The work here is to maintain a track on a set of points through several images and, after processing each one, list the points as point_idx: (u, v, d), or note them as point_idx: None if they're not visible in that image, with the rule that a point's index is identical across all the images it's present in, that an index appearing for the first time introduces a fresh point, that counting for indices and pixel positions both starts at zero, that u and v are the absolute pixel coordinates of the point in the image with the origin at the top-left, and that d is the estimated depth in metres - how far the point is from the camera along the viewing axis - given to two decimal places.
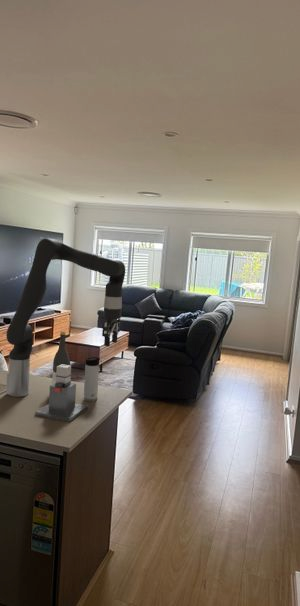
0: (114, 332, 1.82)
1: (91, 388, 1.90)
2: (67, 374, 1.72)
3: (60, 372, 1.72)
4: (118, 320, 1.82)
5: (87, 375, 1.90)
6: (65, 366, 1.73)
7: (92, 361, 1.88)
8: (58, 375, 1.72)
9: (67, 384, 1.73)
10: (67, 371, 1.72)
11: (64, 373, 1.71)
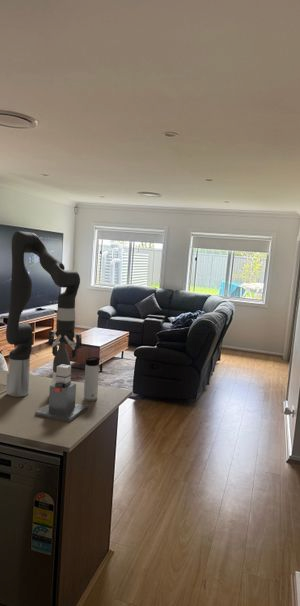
0: (55, 345, 1.73)
1: (91, 388, 1.90)
2: (67, 374, 1.72)
3: (60, 372, 1.72)
4: None
5: (87, 375, 1.90)
6: (65, 366, 1.73)
7: (92, 361, 1.88)
8: (58, 375, 1.72)
9: (67, 384, 1.73)
10: (67, 371, 1.72)
11: (64, 373, 1.71)
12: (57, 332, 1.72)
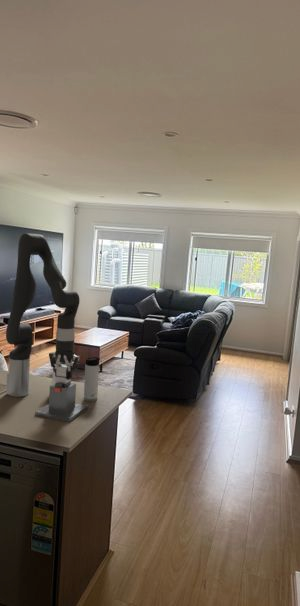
0: None
1: (91, 388, 1.90)
2: None
3: (60, 372, 1.72)
4: None
5: (87, 375, 1.90)
6: (65, 366, 1.73)
7: (92, 361, 1.88)
8: (58, 375, 1.72)
9: (67, 384, 1.73)
10: None
11: (64, 373, 1.71)
12: (56, 352, 1.73)
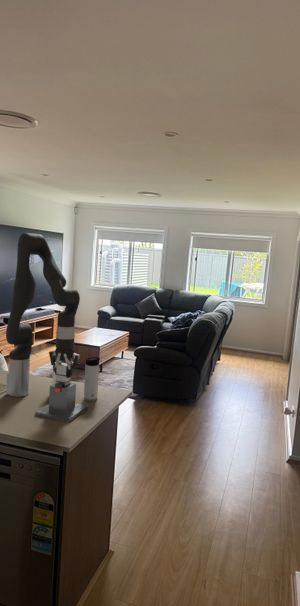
0: None
1: (91, 388, 1.90)
2: None
3: (60, 371, 1.71)
4: None
5: (87, 375, 1.90)
6: (65, 364, 1.73)
7: (92, 361, 1.88)
8: (58, 373, 1.72)
9: (67, 382, 1.73)
10: (67, 369, 1.72)
11: (64, 371, 1.71)
12: (56, 350, 1.73)
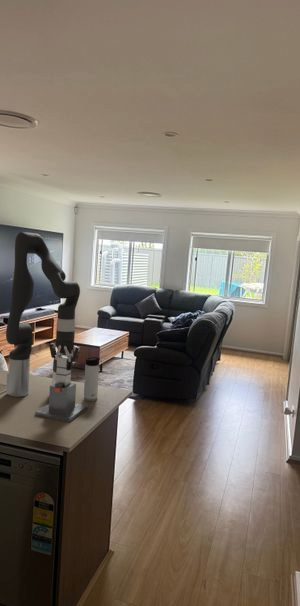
0: None
1: (91, 388, 1.90)
2: (67, 365, 1.72)
3: (61, 363, 1.71)
4: None
5: (87, 375, 1.90)
6: (65, 357, 1.72)
7: (92, 361, 1.88)
8: (58, 366, 1.72)
9: (67, 375, 1.73)
10: (67, 362, 1.72)
11: (65, 364, 1.71)
12: (56, 343, 1.72)
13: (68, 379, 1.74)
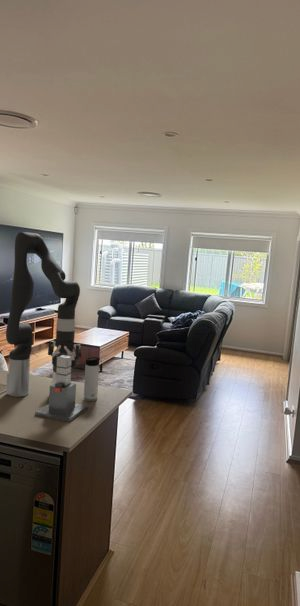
0: (55, 355, 1.74)
1: (91, 388, 1.90)
2: (67, 365, 1.72)
3: (61, 363, 1.71)
4: None
5: (87, 375, 1.90)
6: (65, 357, 1.72)
7: (92, 361, 1.88)
8: (58, 366, 1.72)
9: (67, 375, 1.73)
10: (67, 362, 1.72)
11: (65, 364, 1.71)
12: (57, 342, 1.72)
13: (68, 379, 1.74)
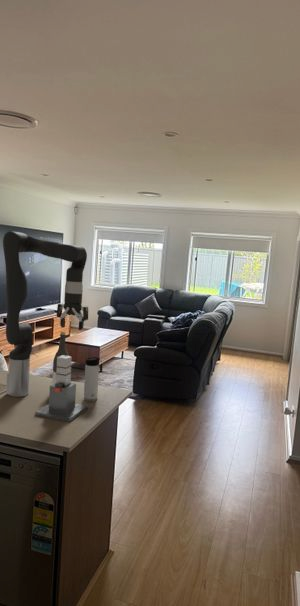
0: None
1: (91, 388, 1.90)
2: (67, 365, 1.72)
3: (61, 363, 1.71)
4: None
5: (87, 375, 1.90)
6: (65, 357, 1.72)
7: (92, 361, 1.88)
8: (58, 366, 1.72)
9: (67, 375, 1.73)
10: (67, 362, 1.72)
11: (65, 364, 1.71)
12: (65, 305, 1.80)
13: (68, 379, 1.74)
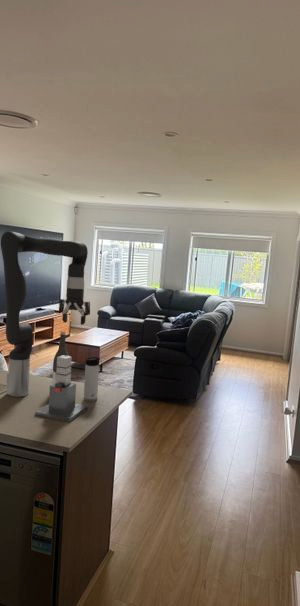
0: None
1: (91, 388, 1.90)
2: (67, 365, 1.72)
3: (61, 363, 1.71)
4: None
5: (87, 375, 1.90)
6: (65, 357, 1.72)
7: (92, 361, 1.88)
8: (58, 366, 1.72)
9: (67, 375, 1.73)
10: (67, 362, 1.72)
11: (65, 364, 1.71)
12: (67, 300, 1.84)
13: (68, 379, 1.74)
